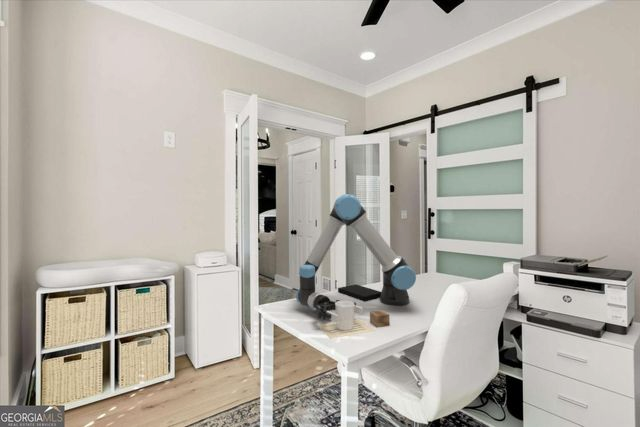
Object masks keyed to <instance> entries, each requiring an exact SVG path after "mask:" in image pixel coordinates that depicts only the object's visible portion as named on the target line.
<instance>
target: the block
mask: <svg viewBox="0 0 640 427" xmlns="http://www.w3.org/2000/svg"><path fill="white" fill-rule="evenodd" d="M369 323H370V324H371V325H373V326H374V327H375V328H382V327H389V326H391V325H390V324H391V323H390V314H389V313H388V312H386V311H385V310H383V309H382V310H373V311H369Z"/></svg>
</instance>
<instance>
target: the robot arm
mask: <svg viewBox="0 0 640 427" xmlns="http://www.w3.org/2000/svg"><path fill="white" fill-rule="evenodd" d="M328 217H329V219H328V221H327V222H326V225H325V227H324V228H323V230H322V232H321V234H320V236H318V237H319V238H318V239H317V241H316V243H315V244H314V245H313V248H312V249H311V251H310V253H309V256H308V257H307V258H306V261H305V262H304V264H302V265H300V267H299V271H298V272H299V289H298V290H297V292H296V294H295V299H296V301H297V303H300V304H301V305H303V306H306V307H308V308H310V309H312V310H313V312H315V314H316V315H317V318H318V319H322V320H324V321H325V320H326V319H328V320H330V321H331V322H338V315H336V313H334V312H332V311H336V309H335V303H336V302H338V301H341V300H340V299H336V300H335V301H334V300H331V299H330V298H329V296H327V295H324V294H320V293H318V292H317V291H316V273H317V272H318V270H319V269H320V266H321V265H322V263H323V261H324V259H325V257H326V255H327V253H329V250H330V249H331V247H332V246H333V243H334V242H335V240H336V239H337V238H336V237H337V236H338V234H339V233H340V230H341V229H342V227H343V226H345V225H346V227H348V228H351V229H353V231H354V232H355V233H356V235H357V236H358V237H359V238H360V240H361V241H362V243H363V244H364V245H365V246H366V247H367V249H368V250H369V251H370V253H372V256H373V257H374V258H375V259H376V260H377V262H378V263H379V264H380V265H381V272H382V289H381V291H380V292H381V295H380V298H379V302H381V303H383V304H385V305H389V306H391V305H392V306H405V305H408V304H409V303H410V296H409V293H408V290H410V289H412V287H413V286H414V285H415V283H416V280H417V275H416V272H415V270H414V269H413V268H412V267H411V266H410V265H408V263H407V262H406V261H407V260H406V258H405V257H402V256H401V255H397V254H396V253H395V252H394V250H392V248H391V247H390V245H389V243H387V241H386V240H385V239H384V237H383V236H382V235H381V233H380V232H379V231H378V230H377V228H376V227H375V226H374V225H373V223H372V222H371V221H370V220H369V218H368V217H367V210H365V208H364V207H363V205H362V204H361V202H360V200H359V198H358V197H357V196H355V195H353V194H349V193H348V194H347V193H346V194H342V195H341V196H339V197H338V198H337V199H336V200H335V201H334V204H333V207H332V209H331V211H330V214H329V216H328ZM352 302H353V303H354V314H355V313H356V314H358V315H362V316H363V315H364V307H362V306H358V305H357V303H356V302H354V301H352Z"/></svg>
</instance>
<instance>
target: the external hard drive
mask: <svg viewBox="0 0 640 427" xmlns="http://www.w3.org/2000/svg"><path fill="white" fill-rule="evenodd" d="M337 293H339V294H341V295H345V296H347V297H350V298H353V299H356V300H359V301H362V302H365V303H366V302H369V301H374V300H377V299H380V295H381V291H379V290H376V289H372V288H369V287H366V286H362V285H360V284H356V283H355V284H351V285H346V286H340V287H338V288H337Z"/></svg>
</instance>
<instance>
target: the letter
mask: <svg viewBox="0 0 640 427" xmlns="http://www.w3.org/2000/svg"><path fill="white" fill-rule="evenodd" d="M316 326H317V327H318V328H319V329H320V330H321V332H323V333H324V334H325V335H326V337H328V338H329V339H335V338H340V337H341V338H342V337H347V336H353V335H358V334H364V333H369V332H374V331H377V330H376V329H374V328H373V327H371V326H370V325H369V324H367V323H366V322H365V321H363V320H361V319H360V318H354V321H353V329H351V330H340V329H338V328H337V322H335V321H331V322H327V323H322V324H321V323H320V324H316Z"/></svg>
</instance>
